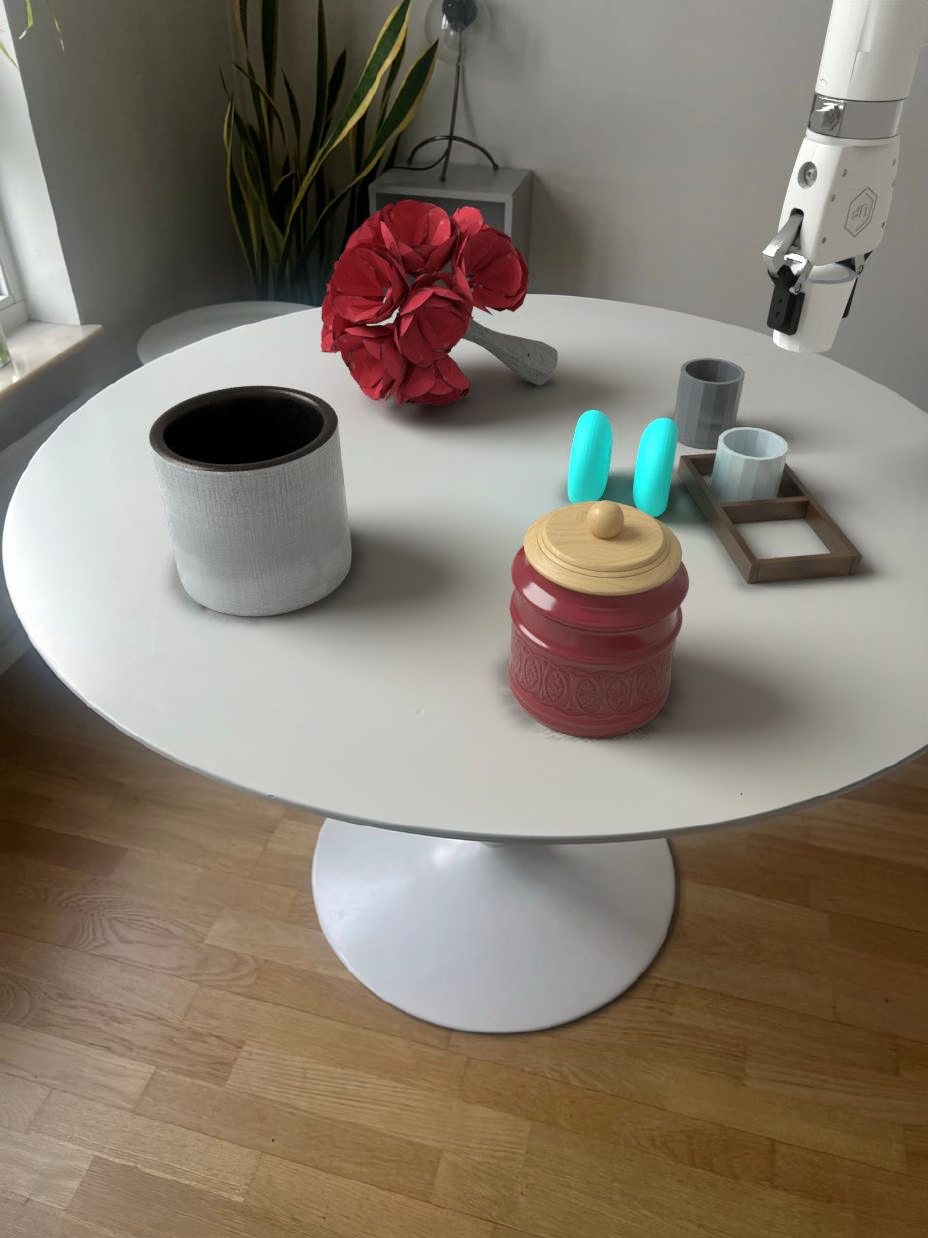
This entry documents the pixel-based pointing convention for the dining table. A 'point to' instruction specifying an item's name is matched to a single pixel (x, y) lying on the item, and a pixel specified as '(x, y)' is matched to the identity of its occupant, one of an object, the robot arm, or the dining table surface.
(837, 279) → the white cup
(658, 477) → the cyan rounded forked piece
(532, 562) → the kitchen canister
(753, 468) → the glass
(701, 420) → the grey cup
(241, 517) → the planter
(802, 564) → the glass rack
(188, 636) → the dining table surface
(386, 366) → the bouquet
